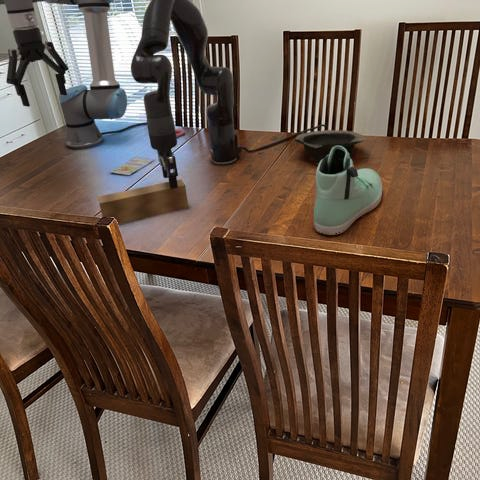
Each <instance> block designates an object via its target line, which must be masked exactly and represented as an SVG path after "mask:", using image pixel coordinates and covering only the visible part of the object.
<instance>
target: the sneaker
mask: <svg viewBox="0 0 480 480" xmlns="http://www.w3.org/2000/svg"><path fill="white" fill-rule="evenodd" d="M317 165H318V166H317V168H316V172H315V201H314V207H313V225H314V229H315V231H316V232H318V233H320V234H323V235H326V236H327V235H328V236H336V235H339V234H342V233H344V232H345V231H347V230H348V229H349V228H350V227H351V226H352V225H353V224H354V222H356V221H357V220H358V219H359V218H360V217H362V216H363V215H365V214H367V213H370V212H372V210H374V209H375V208H377V207H378V205H380V203H381V200H382V196H383V184H382V183H383V182H382V179H381V176H380V175H379V173H378V172H377V171H376V170H374V169H372V168H367V167H365V168H358V169H357V168H355V167H354V161H353V159H352V158H350V156H349V153H348V152H347V150H346V149H345V148H344V147H342V146H334V147H333V148H332V149H331V152H330V154H329V155H327V156H326V157H325V158H324V159H322V160H321V161H320V163H319V164H317ZM343 230H344V231H343ZM319 231H320V232H319ZM322 232H323V233H322ZM339 232H340V233H339ZM326 233H327V234H326ZM328 233H329V234H328ZM335 233H337V234H335Z"/></svg>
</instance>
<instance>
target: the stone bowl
mask: <svg viewBox="0 0 480 480" xmlns="http://www.w3.org/2000/svg"><path fill="white" fill-rule="evenodd" d="M295 137H296V138H295V139H294V142H297V143H299V144H301V145H303V150H304V153H305V154H306V155H307V157H309V158H311V159H312V161H311V162H312V163H313V164H315V165H319V163H320V161H321V160H322V159H324V158H325V157H326V156H327V155H329V154H330V152H331V149H332V148H333V147H334V146H342V147H344V148H345V149H346V150H347V152H348V153H349V156H350V159H352V158H353V156H354V152H355V146H356V145H357V144H360V143H362V142H363V141H364V142H365V140H366V139H367V137H365V136H364V135H363V134H362V133H358V132H355V131H353V130H352V131H351V130H338V129H336V130H333V129H323V130H311V131H307V132H304V133H301V134H299V135H296V136H295Z"/></svg>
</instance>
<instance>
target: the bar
mask: <svg viewBox="0 0 480 480" xmlns="http://www.w3.org/2000/svg"><path fill="white" fill-rule="evenodd" d="M177 184H178V187H177V188H174V189H171V188H170V185H169V181H166V182H161V183H156V184H151V185H146V186H142V187H137V188H133V189H126V190H122V191H117V192H114V193H108V194H104V195H98V196H97V200H98V203H99V204H98V205H99V208H100V212H101V216H102V218H103V217H114V218H115V219H116V220H117V222H118V224H117V225H122V224H126V223H129V222H134V221H139V220H143V219H147V218H151V217H157V216H160V215H164V214H169V213H174V212H179V211H183V210H187V209H190V208H189V201H188V194H187V187H186V184H185V182H184V181H183V179H182V178H180V179H177Z"/></svg>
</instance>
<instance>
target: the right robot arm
mask: <svg viewBox="0 0 480 480" xmlns="http://www.w3.org/2000/svg"><path fill="white" fill-rule="evenodd" d="M202 15H203V14H202V13H201V10H200V9H199V8H198V7H197V6H196V4H195V3H193V2H192V1H191V0H150V2H149V3H148V5H147V7H146V9H145V12H144V15H143V19H142V29H141V37H140V40H139V42H138V44H137V47H136V49H135V52H134V53H133V56H132V59H131V62H130V74H131V77H132V78H133V80H134V81H135V82H136V83H138V84H142V85H143V84H144V85H145V84H157V89H155V90H151V91H149V92H146V93H145V94H144V95H143V104H144V105H143V106H144V111H145V117H146V122H147V124H146V126H147V131H148V137H149V143H150V147H151V148H152V150H155V151H156V152H157V157H158V162H159V165H160V167H161V172H162V177H163V178H164V179H168V182H169V185H170V188H171V189H174V188H177V187H178V184H177V180H178V178H177V177H179V172H178V166H177V161H176V155H175V154H174V151H172V149H173V148H175V147H176V146H178V137H176V134H177V133H176V131H175V130H176V124H175V120H174V115H173V112H172V111H173V110H172V105H171V97H170V94H171V83H172V74H173V65H172V63H171V60H170V58H168V56H166V55H164V54H157V53H160V52H162V51H165V50H166V49H167V48H168V45H169V39H170V38H169V37H170V28H171V27H170V26H171V24H172V27H173V29H174V32H175V33H176V35H177V38H178V40H179V42H180V43H181V46H182V48H183V49H184V52H185V54H186V56H187V58H188V61H189V64H190V66H191V69H192V72H193V74H194V77H195V80H196V83H197V86H198V88H199V90H201V92H202V93H203V94H205V95H208V96H216V102H215V103H211V104H209V105H208V106H207V107H206V120H207V129H208V137H209V152H210V158H211V159H210V160H211V163H212V164H214V165H216V166H217V165H218V166H226V165H231V164H234V163H235V162H236V161H237V160H239V158H240V157H239V155H240V154H241V153H243V150H245V152H247V153H255V152H258V151H261V150H264V149H266V148H270V147H272V146H275V145H278V144H281V143H282V142H285V141H287V140H290V139H292V138H294V137H297V136H298V135H300V134H303V133H308V132H311V131H315V130H316V129H319V128H321V127H324V128H328V125H326V124H323V123H322V124H318V125H316V126H314V127H310V128H307V129H303V130H301V131H299V132H296V133H293V134H291V135H289V136H287V137H284V138H282V139H279V140H277V141H275V142H272V143H269V144H266V145H263V146H260V147H258V148H255V149H248V148H247V147H245V146H242V145H239V144H238V143H239V142H238V134H237V133H236V131H235V121H234V104H235V97H234V96H235V95H234V76H233V72H232V70H231V69H230V68H228V67H227V66H225V67H224V66H213V65H212V66H211V64H210V63H209V61H208V59H207V55H206V47H207V44H208V38H209V33H208V32H209V31H208V27H207V25H206V23H205V20H204V18H203V16H202ZM171 170H172V172H171Z"/></svg>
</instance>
